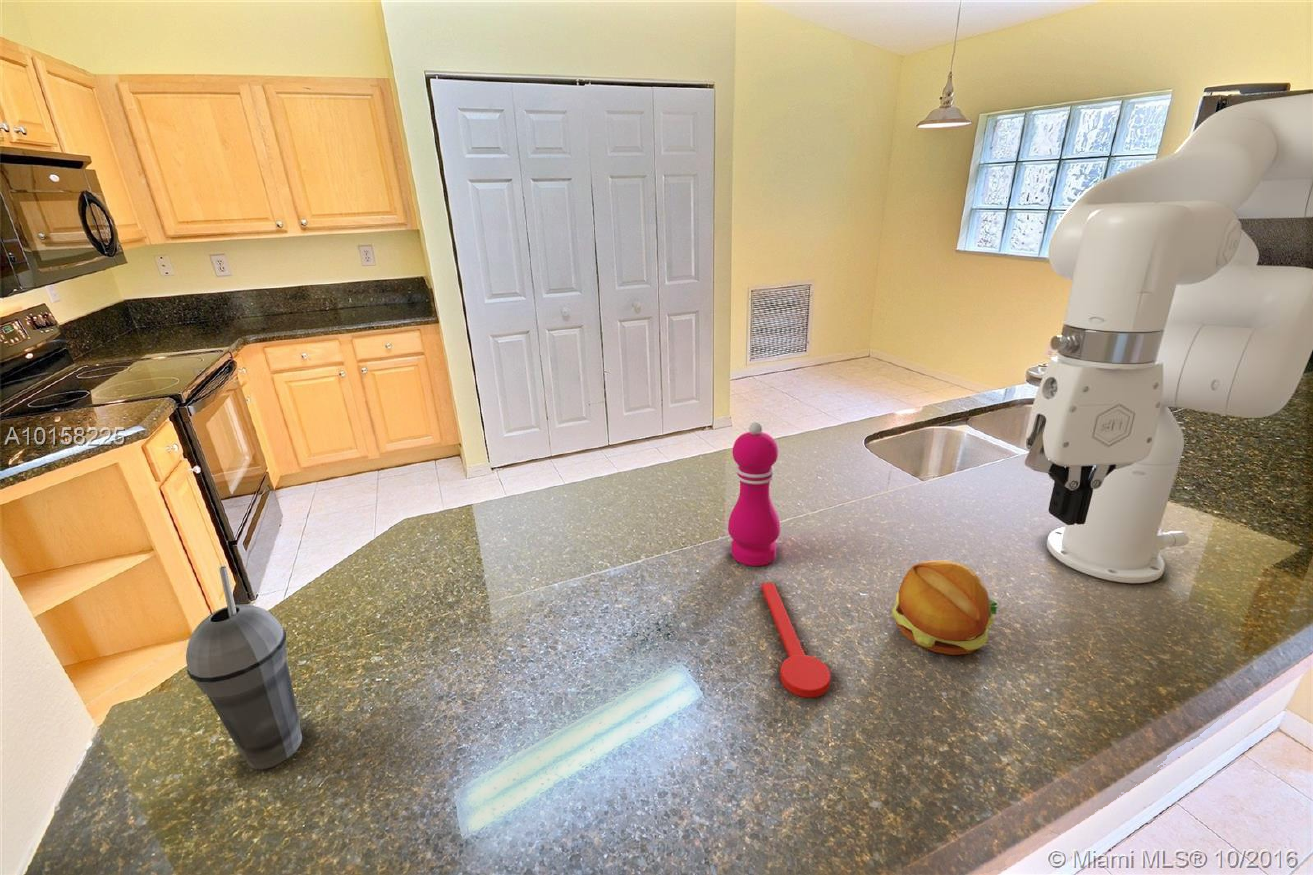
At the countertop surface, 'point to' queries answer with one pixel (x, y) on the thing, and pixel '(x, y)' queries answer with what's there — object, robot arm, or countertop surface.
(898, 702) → the countertop surface
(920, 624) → the cheeseburger
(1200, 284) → the robot arm
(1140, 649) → the countertop surface
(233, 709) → the beverage cup
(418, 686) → the countertop surface
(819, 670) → the spoon
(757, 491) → the pepper mill
